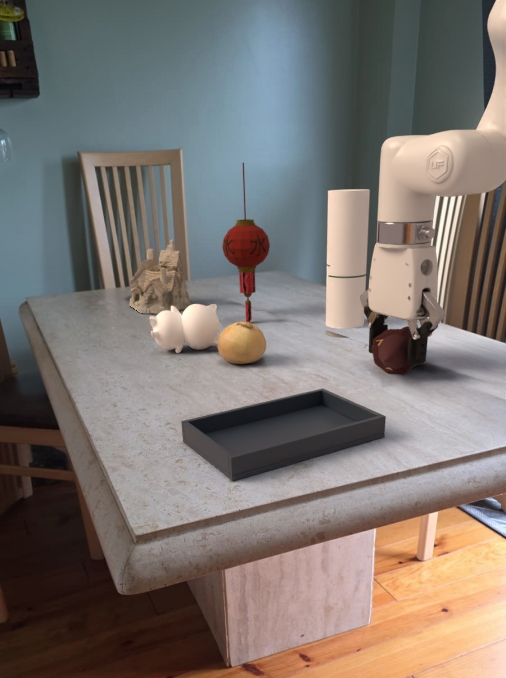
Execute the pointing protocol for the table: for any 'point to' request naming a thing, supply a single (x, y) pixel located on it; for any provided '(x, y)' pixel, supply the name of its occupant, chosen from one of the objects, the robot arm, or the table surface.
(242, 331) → the onion
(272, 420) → the dish tray
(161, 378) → the table surface
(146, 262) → the ceramic cottage
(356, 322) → the cylindrical container
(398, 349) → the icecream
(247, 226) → the lantern
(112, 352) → the table surface
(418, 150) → the robot arm
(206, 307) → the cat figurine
